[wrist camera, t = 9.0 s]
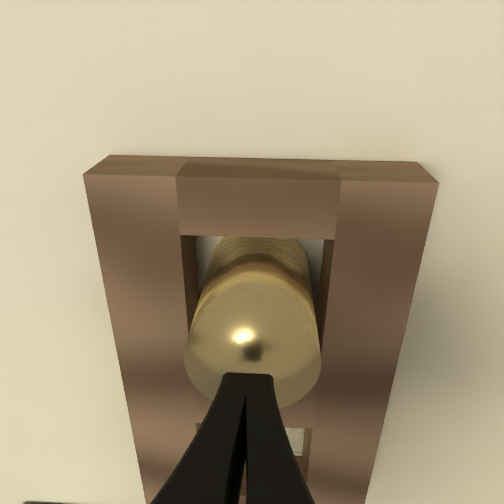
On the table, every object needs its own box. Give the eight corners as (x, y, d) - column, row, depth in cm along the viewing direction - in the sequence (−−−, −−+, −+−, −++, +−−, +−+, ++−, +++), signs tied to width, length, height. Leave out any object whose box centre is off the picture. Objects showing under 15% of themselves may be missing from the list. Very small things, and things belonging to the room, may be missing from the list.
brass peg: (302, 312, 19) (312, 417, 14) (209, 305, 19) (185, 406, 14) (314, 228, 17) (331, 313, 12) (210, 220, 17) (181, 302, 12)
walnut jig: (351, 482, 25) (359, 525, 23) (159, 471, 26) (147, 512, 23) (416, 162, 16) (439, 183, 13) (109, 155, 16) (82, 174, 14)
